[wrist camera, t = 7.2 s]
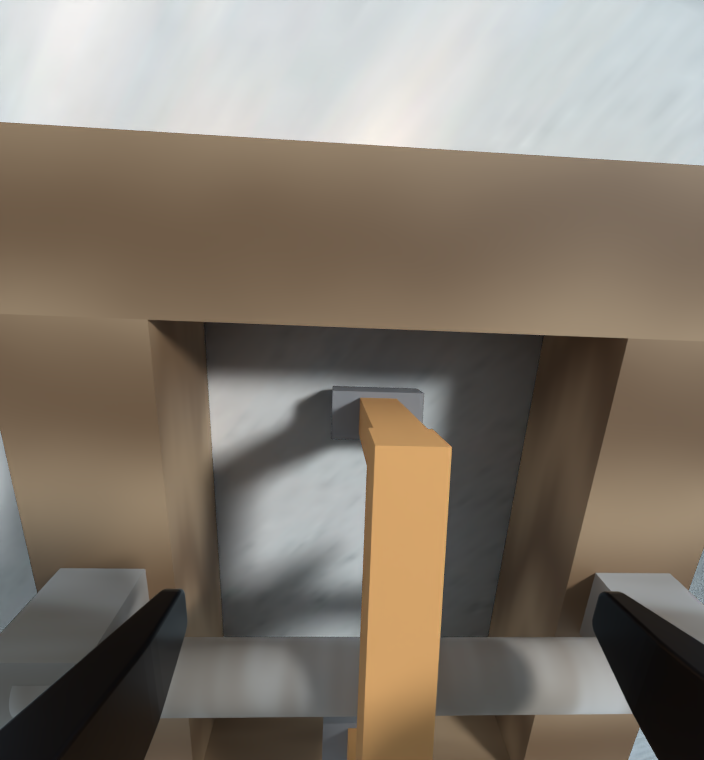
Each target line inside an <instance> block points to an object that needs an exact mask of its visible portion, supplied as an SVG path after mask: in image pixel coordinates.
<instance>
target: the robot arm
mask: <svg viewBox="0 0 704 760" xmlns="http://www.w3.org/2000/svg"><path fill="white" fill-rule="evenodd" d="M592 627H593V631H594V633H595V636H596V638H597V640H598V642H599V644H600V646H601V648H602V651H603V653H604V655H605V657H606V659H607V661H608V663H609V665H610V668H611V670H612V672H613V674H614V676H615V678H616V680H617V683H618V685H619V687H620V689H621V691H622V693H623V695H624V697H625V700H626V702H627V704H628V706H629V708H630V710H631V712H632V714H633V715H634V717H635V719H636V721H637V723H638V725H639V727H640V728H641V730H642V732H643V734H644V735H645V737H646V739H647V741H648V743H649V744H650V746H651V748H652V750H653V751H654V753H655V755H656V757H657V758H658V760H704V644H703V643H701V642H700V641H698V640H697V639H695V638H694V637H692V636H690V635H689V634H687V633H686V632H684V631H683V630H681V629H679V628H678V627H676V626H675V625H673V624H672V623H670V622H668V621H667V620H665V619H664V618H662V617H661V616H659V615H657V614H656V613H654V612H653V611H651V610H649V609H648V608H646V607H645V606H643V605H642V604H640V603H638V602H637V601H635V600H634V599H632V598H631V597H629V596H627V595H626V594H624V593H622V592H619V591H603V592H601V593H600V594H599V596H598V599H597V603H596V607H595V610H594V614H593V617H592ZM186 629H187V608H186V598H185V592H184V590H183V589H163V590H161V591H160V592H159V593H158V594H156V595H155V596H154V597H153V598H152V599H151V600H149V601H148V602H147V603H146V604H145V605H144V606H142V607H141V608H140V609H139V610H138V611H137V612H135V613H134V614H133V615H132V616H131V617H130V618H129V619H127V620H126V621H125V622H124V623H123V624H122V625H120V626H119V627H118V628H117V629H116V630H115V631H113V632H112V633H111V634H110V635H109V636H108V637H106V638H105V639H104V640H103V641H102V642H101V643H99V644H98V645H97V646H96V647H95V648H94V649H92V650H91V651H90V652H89V653H88V654H87V655H86V656H84V657H83V658H82V659H81V660H80V661H79V662H77V663H76V664H75V665H74V666H73V667H72V668H70V669H69V670H68V671H67V672H66V673H65V674H63V675H62V676H61V677H60V678H59V679H58V680H56V681H55V682H54V683H53V684H52V685H51V686H50V687H48V688H47V689H46V690H45V691H44V692H43V693H41V694H40V695H39V696H38V697H37V698H36V699H34V700H33V701H32V702H31V703H30V704H29V705H27V706H26V707H25V708H24V709H23V710H22V711H20V712H19V713H18V714H17V715H16V716H15V717H13V718H12V719H11V720H10V721H9V722H8V723H7V724H5V725H4V726H3V727H2V728H1V729H0V760H144V759H145V756H146V754H147V751H148V749H149V746H150V744H151V741H152V739H153V736H154V734H155V731H156V728H157V725H158V723H159V720H160V717H161V714H162V711H163V708H164V704H165V701H166V698H167V694H168V691H169V688H170V684H171V681H172V677H173V674H174V671H175V667H176V664H177V660H178V657H179V654H180V650H181V647H182V643H183V640H184V637H185V633H186Z"/></svg>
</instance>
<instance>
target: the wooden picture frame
mask: <svg viewBox="0 0 704 760" xmlns="http://www.w3.org/2000/svg"><path fill="white" fill-rule="evenodd" d="M204 322H222V323H247V324H273V325H298V326H324V327H350V328H375V329H401V330H427V331H452V332H478V333H503V334H529V335H544V337H543V342H542V347H541V353H540V358H539V364H538V369H537V375H536V380H535V385H534V391H533V396H532V402H531V407H530V412H529V418H528V423H527V429H526V434H525V439H524V445H523V450H522V456H521V461H520V466H519V472H518V477H517V483H516V488H515V493H514V499H513V504H512V510H511V515H510V520H509V526H508V531H507V537H506V542H505V548H504V553H503V558H502V564H501V569H500V575H499V580H498V585H497V591H496V596H495V602H494V607H493V612H492V618H491V623H490V629H489V634H488V637H440V648H439V664H438V680H437V696H436V712H435V728H434V744H433V760H628V758H629V756H630V753H631V750H632V747H633V744H634V742H635V739H636V736H637V733H638V730H639V728H640V727H639V725H638V723H637V721H636V719H635V717H634V715H633V714H632V712H631V710H630V708H629V706H628V704H627V702H626V700H625V697H624V695H623V693H622V691H621V689H620V687H619V685H618V683H617V680H616V678H615V676H614V674H613V672H612V670H611V668H610V665H609V663H608V661H607V659H606V657H605V655H604V653H603V651H602V648H601V646H600V644H599V642H598V640H597V638H596V636H595V633H594V631H593V627H592V617H593V614H594V610H595V607H596V603H597V599H598V596H599V594H600V593H601V592H603V591H619V592H622V593H624V594H626V595H627V596H629V597H631V598H632V599H634V600H635V601H637V602H638V603H640V604H642V605H643V606H645V607H646V608H648V609H649V610H651V611H653V612H654V613H656V614H657V615H659V616H661V617H662V618H664V619H665V620H667V621H668V622H670V623H672V624H673V625H675V626H676V627H678V628H679V629H681V630H683V631H684V632H686V633H687V634H689V635H690V636H692V637H694V638H695V639H697V640H698V641H700V642H701V643H703V644H704V604H703V603H701V602H700V601H699V600H698V599H697V598H696V597H695V596H694V595H693V594H692V593H691V592H690V591H688V590H689V588H690V585H691V582H692V579H693V576H694V574H695V571H696V568H697V565H698V562H699V560H700V557H701V554H702V551H703V548H704V166H701V165H684V164H668V163H652V162H636V161H620V160H604V159H587V158H571V157H555V156H539V155H523V154H507V153H491V152H474V151H458V150H442V149H426V148H410V147H394V146H377V145H361V144H345V143H329V142H313V141H297V140H281V139H264V138H248V137H232V136H216V135H200V134H184V133H167V132H151V131H135V130H119V129H103V128H87V127H71V126H54V125H38V124H22V123H6V122H0V431H1V435H2V440H3V444H4V448H5V453H6V457H7V462H8V466H9V470H10V475H11V479H12V484H13V488H14V492H15V497H16V501H17V506H18V510H19V514H20V519H21V523H22V528H23V532H24V536H25V541H26V545H27V550H28V554H29V558H30V563H31V567H32V572H33V576H34V580H35V585H36V589H37V594H36V595H35V596H34V597H33V598H32V600H31V601H30V602H29V603H28V604H27V605H26V606H25V607H24V608H23V609H22V610H21V612H20V613H19V614H18V615H17V616H16V617H15V618H14V619H13V620H12V621H11V622H10V624H9V625H8V626H7V627H6V628H5V629H4V630H3V631H2V632H1V633H0V729H1V728H2V727H3V726H4V725H5V724H7V723H8V722H9V721H10V720H11V719H12V718H13V717H15V716H16V715H17V714H18V713H19V712H20V711H22V710H23V709H24V708H25V707H26V706H27V705H29V704H30V703H31V702H32V701H33V700H34V699H36V698H37V697H38V696H39V695H40V694H41V693H43V692H44V691H45V690H46V689H47V688H48V687H50V686H51V685H52V684H53V683H54V682H55V681H56V680H58V679H59V678H60V677H61V676H62V675H63V674H65V673H66V672H67V671H68V670H69V669H70V668H72V667H73V666H74V665H75V664H76V663H77V662H79V661H80V660H81V659H82V658H83V657H84V656H86V655H87V654H88V653H89V652H90V651H91V650H92V649H94V648H95V647H96V646H97V645H98V644H99V643H101V642H102V641H103V640H104V639H105V638H106V637H108V636H109V635H110V634H111V633H112V632H113V631H115V630H116V629H117V628H118V627H119V626H120V625H122V624H123V623H124V622H125V621H126V620H127V619H129V618H130V617H131V616H132V615H133V614H134V613H135V612H137V611H138V610H139V609H140V608H141V607H142V606H144V605H145V604H146V603H147V602H148V601H149V600H151V599H152V598H153V597H154V596H155V595H156V594H158V593H159V592H160V591H161V590H163V589H183V590H184V592H185V598H186V608H187V629H186V633H185V637H184V640H183V643H182V647H181V650H180V654H179V657H178V660H177V664H176V667H175V671H174V674H173V677H172V681H171V684H170V688H169V691H168V694H167V698H166V701H165V704H164V708H163V711H162V714H161V717H160V720H159V723H158V725H157V728H156V731H155V734H154V736H153V739H152V741H151V744H150V746H149V749H148V751H147V754H146V756H145V759H144V760H322V743H323V717H356V716H357V709H358V683H359V657H360V637H224V635H223V619H222V603H221V587H220V571H219V555H218V539H217V523H216V507H215V491H214V475H213V459H212V443H211V427H210V411H209V395H208V379H207V363H206V347H205V331H204Z"/></svg>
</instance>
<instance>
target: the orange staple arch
mask: <svg viewBox="0 0 704 760" xmlns="http://www.w3.org/2000/svg"><path fill="white" fill-rule="evenodd" d="M423 404H424V393H423V392H421V391H420V390H418V389H412V388H377V387H341V386H333V396H332V431H331V439H355V440H361V444H362V448H363V452H364V456H365V460H366V464H367V478H366V504H365V529H364V555H363V581H362V606H361V632H360V657H359V683H358V709H357V716H356V717H323V743H322V760H433V744H434V728H435V712H436V696H437V680H438V664H439V648H440V632H441V616H442V600H443V584H444V568H445V552H446V536H447V520H448V504H449V488H450V472H451V456H452V447H451V446H450V445H449V444H448V443H447V442H446V441H445V440H444V439H443V438H442V437H441V436H439V435H438V434H437V433H436V432H435V431H434V430H433V429H427V428H426V427H425V426H424V425H423V424H422V423H423Z"/></svg>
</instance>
